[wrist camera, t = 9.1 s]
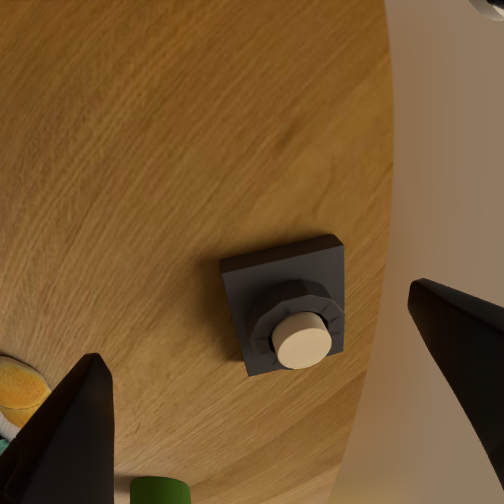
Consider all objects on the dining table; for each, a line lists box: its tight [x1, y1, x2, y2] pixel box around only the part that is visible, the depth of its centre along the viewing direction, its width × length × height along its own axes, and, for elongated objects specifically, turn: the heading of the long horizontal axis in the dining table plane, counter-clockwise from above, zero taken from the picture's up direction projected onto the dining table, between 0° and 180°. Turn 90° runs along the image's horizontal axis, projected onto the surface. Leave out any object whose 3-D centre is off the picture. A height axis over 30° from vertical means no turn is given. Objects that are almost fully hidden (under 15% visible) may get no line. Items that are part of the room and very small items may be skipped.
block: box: [219, 234, 345, 377], centre depth 22 cm, size 8×10×4 cm
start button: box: [272, 312, 332, 369], centre depth 20 cm, size 4×4×2 cm
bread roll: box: [0, 356, 51, 428], centre depth 22 cm, size 8×9×4 cm
